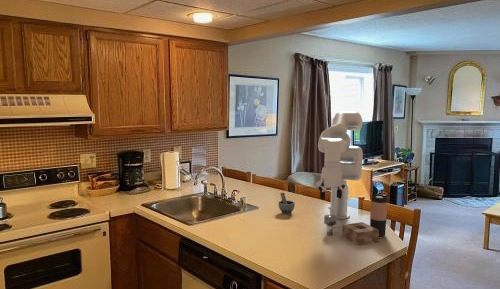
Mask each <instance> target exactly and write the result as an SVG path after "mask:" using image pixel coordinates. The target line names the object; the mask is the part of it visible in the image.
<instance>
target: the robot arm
mask: <svg viewBox="0 0 500 289" xmlns="http://www.w3.org/2000/svg"><path fill="white" fill-rule="evenodd" d="M331 122H332V125H331V126H329V127H327V128H326V129H325V130H323V131H322V132H321V134H320V136H319V139H318V141H317V142H318V143H317V149H318V151H319V152H321V153H324V166H323V167H322V169H321V174H320V180H318V181H317V182H316V183H315V186H316V188H317V189H318V192H319V198H320V200H323V201H325V199H326V192H325V191H326V190H327V189H330V206H328V207H327V209H329V212H327V215H334V216H336V220H346V218H347V219H349V218H350V217H351V215H350V213H349V212H348V197H349V196H348V195H349V187H348V184H347V181H359V180H360V179H361V178H362V173H363V172H362V171H363V157H364V155H363V148H362V147H360V146H359V145H358V146H357V145H351V140H352V139H351V137H350V135H349V134H348V133H347V132H348V131H361V130H362V127H363V117H362V115H361V113H359V112H357V111H338V112H336V113H335V114H334V117H333V118H332V121H331ZM346 180H347V181H346Z"/></svg>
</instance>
